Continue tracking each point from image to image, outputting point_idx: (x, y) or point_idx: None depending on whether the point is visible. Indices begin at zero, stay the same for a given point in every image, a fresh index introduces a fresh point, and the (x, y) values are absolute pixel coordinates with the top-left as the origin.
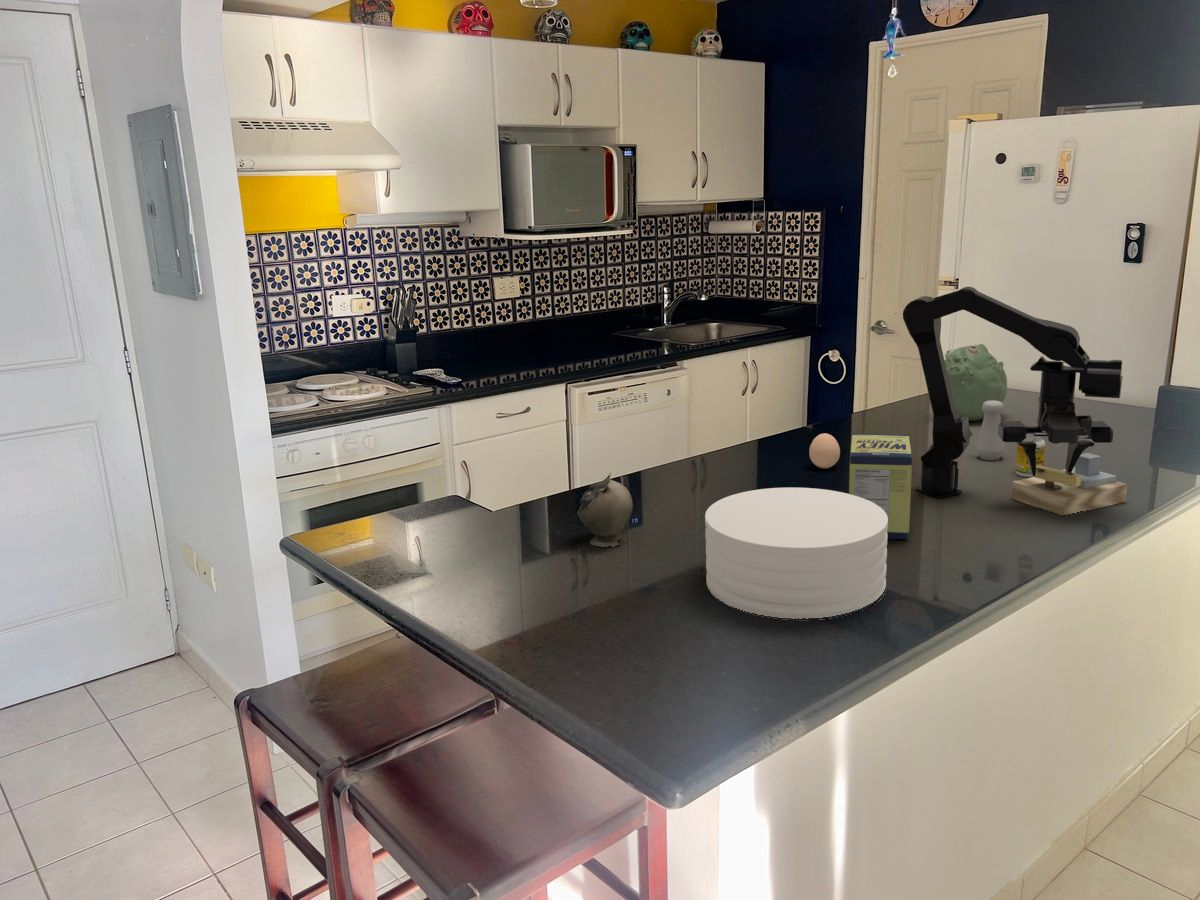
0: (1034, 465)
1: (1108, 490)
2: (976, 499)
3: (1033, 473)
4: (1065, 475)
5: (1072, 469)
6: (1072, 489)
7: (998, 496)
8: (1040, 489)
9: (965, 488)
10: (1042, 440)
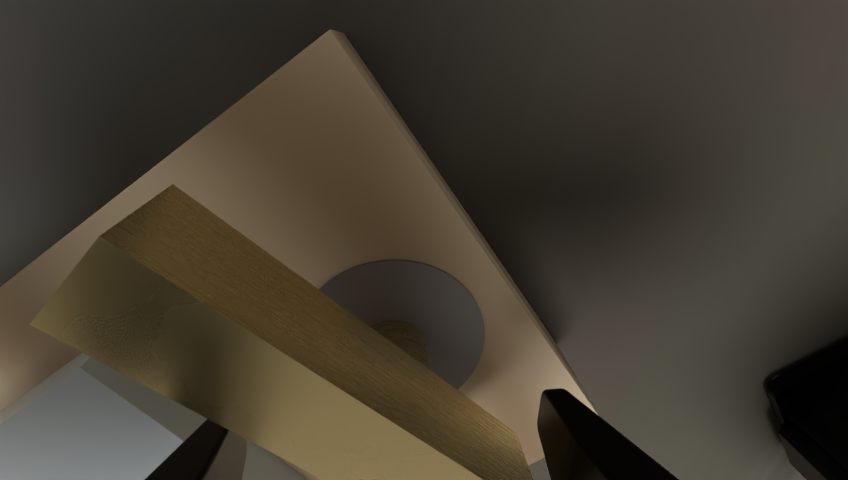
0: (625, 476)
1: None
2: (735, 314)
3: (573, 402)
4: (259, 324)
5: (151, 473)
6: None
7: (607, 368)
8: (475, 279)
9: (707, 449)
10: None
